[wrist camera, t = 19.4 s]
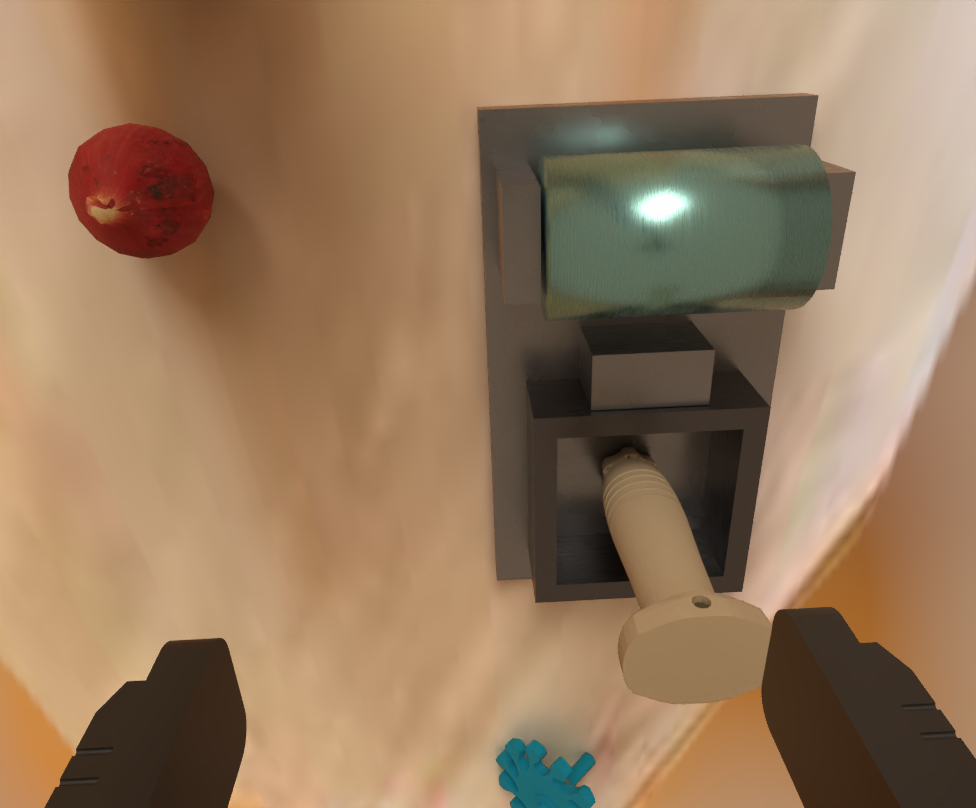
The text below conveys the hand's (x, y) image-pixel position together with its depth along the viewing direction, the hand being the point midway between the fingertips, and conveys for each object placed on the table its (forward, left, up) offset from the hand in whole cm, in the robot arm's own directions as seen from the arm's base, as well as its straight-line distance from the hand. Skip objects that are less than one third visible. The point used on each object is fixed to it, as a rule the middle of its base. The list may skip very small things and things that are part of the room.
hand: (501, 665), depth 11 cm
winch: (+10, -7, -30) cm, 32 cm away
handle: (+11, -13, -29) cm, 33 cm away
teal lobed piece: (+11, -41, -30) cm, 52 cm away
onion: (-15, 0, -30) cm, 34 cm away
